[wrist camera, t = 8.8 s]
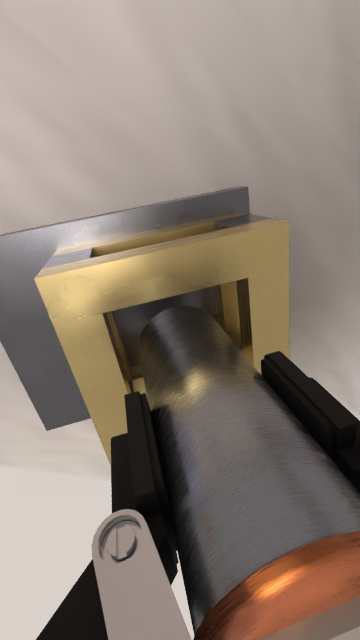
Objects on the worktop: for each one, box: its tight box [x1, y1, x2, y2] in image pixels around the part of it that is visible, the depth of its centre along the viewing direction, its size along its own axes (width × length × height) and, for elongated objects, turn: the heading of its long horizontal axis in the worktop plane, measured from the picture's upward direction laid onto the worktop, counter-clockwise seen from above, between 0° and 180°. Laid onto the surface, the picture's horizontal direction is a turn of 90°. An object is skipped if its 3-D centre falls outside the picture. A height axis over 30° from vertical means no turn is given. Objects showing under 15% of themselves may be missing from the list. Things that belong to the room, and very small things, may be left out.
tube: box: [138, 306, 360, 640], centre depth 9 cm, size 5×5×14 cm
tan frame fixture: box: [0, 187, 289, 464], centre depth 17 cm, size 16×13×6 cm
